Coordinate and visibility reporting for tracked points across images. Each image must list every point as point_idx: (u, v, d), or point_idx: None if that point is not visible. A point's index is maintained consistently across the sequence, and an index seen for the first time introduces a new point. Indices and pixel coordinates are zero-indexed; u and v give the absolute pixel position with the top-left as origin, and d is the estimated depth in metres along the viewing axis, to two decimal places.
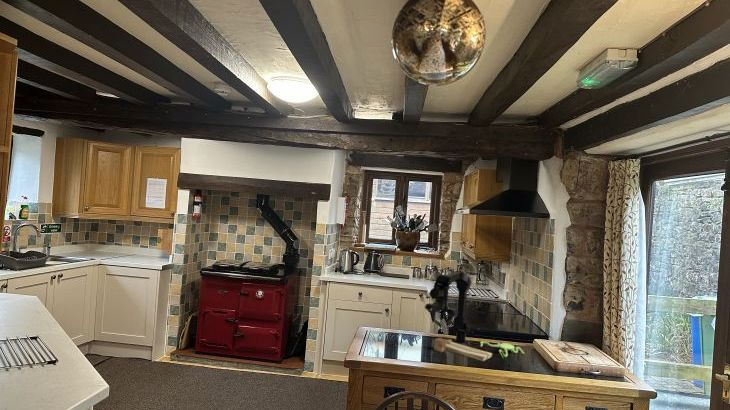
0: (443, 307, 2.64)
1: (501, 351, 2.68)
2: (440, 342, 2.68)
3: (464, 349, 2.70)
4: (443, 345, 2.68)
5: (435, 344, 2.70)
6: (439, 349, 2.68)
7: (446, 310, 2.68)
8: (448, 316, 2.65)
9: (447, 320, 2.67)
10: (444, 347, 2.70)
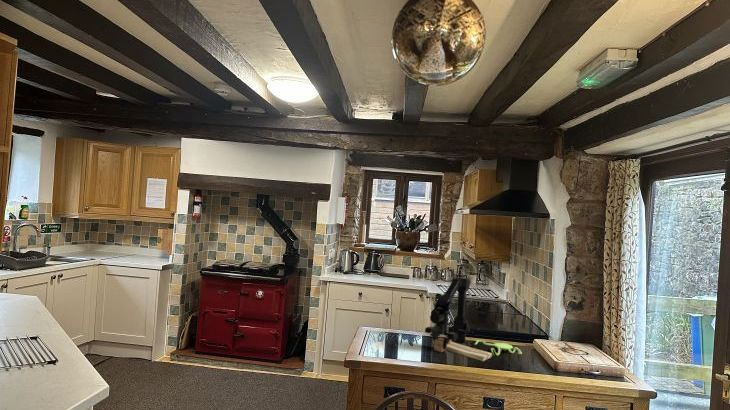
0: (443, 331, 2.63)
1: (493, 349, 2.70)
2: (440, 342, 2.68)
3: (464, 349, 2.70)
4: (443, 345, 2.68)
5: (435, 344, 2.70)
6: (439, 349, 2.68)
7: (446, 334, 2.68)
8: (445, 339, 2.66)
9: (444, 343, 2.68)
10: None
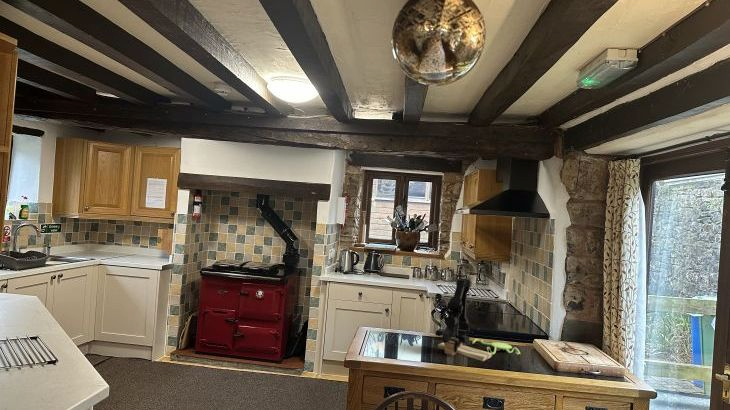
0: (454, 334, 2.59)
1: (489, 348, 2.72)
2: (451, 345, 2.64)
3: (464, 349, 2.70)
4: (454, 348, 2.64)
5: (446, 347, 2.66)
6: (450, 352, 2.64)
7: (457, 337, 2.64)
8: (456, 342, 2.62)
9: (455, 346, 2.64)
10: None
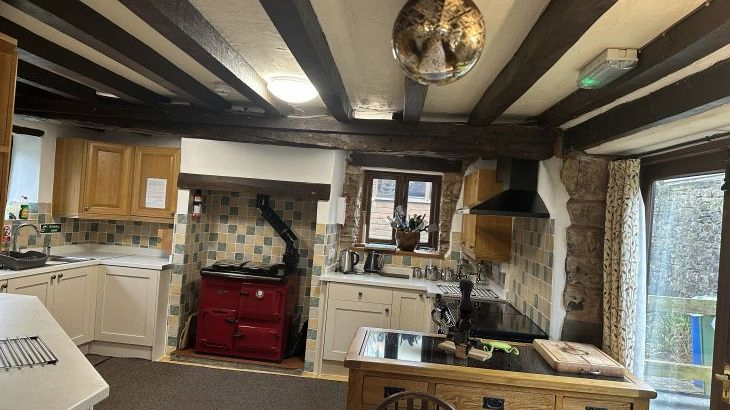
0: (466, 338, 2.55)
1: (486, 347, 2.73)
2: (462, 348, 2.59)
3: None
4: (465, 352, 2.60)
5: (457, 350, 2.61)
6: (461, 356, 2.60)
7: (468, 340, 2.60)
8: (467, 346, 2.58)
9: (466, 350, 2.59)
10: None
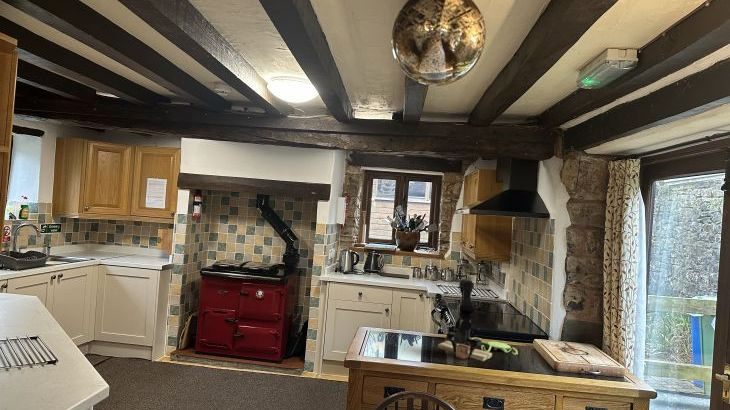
0: (466, 338, 2.55)
1: None
2: (462, 348, 2.59)
3: None
4: (465, 352, 2.59)
5: (457, 350, 2.61)
6: (461, 356, 2.59)
7: (469, 340, 2.60)
8: (471, 347, 2.57)
9: (470, 351, 2.58)
10: (466, 354, 2.61)
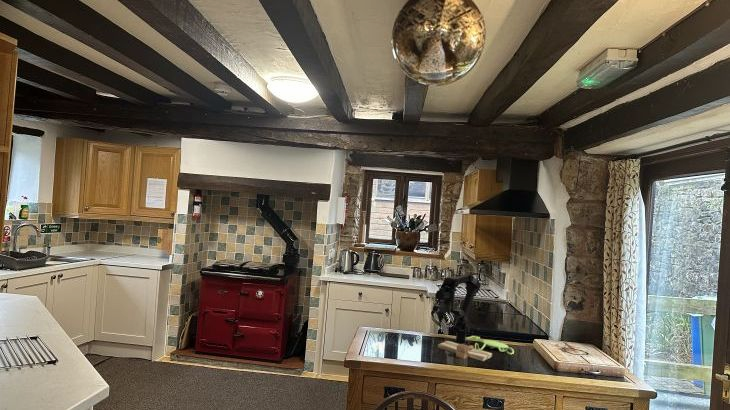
0: (450, 308, 2.74)
1: (477, 344, 2.78)
2: (462, 348, 2.59)
3: None
4: (465, 352, 2.59)
5: (457, 350, 2.61)
6: (461, 356, 2.59)
7: (453, 311, 2.79)
8: (455, 317, 2.76)
9: (454, 321, 2.78)
10: (466, 354, 2.61)
